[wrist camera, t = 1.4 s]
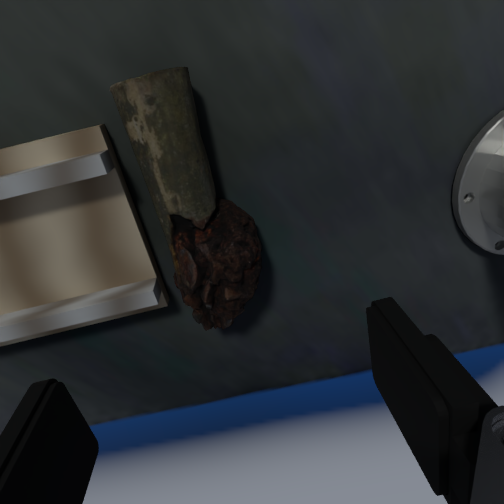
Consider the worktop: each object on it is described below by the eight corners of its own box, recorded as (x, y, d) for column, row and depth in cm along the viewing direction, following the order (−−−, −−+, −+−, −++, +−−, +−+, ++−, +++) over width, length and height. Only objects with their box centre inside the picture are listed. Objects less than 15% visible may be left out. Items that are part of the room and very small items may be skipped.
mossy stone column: (116, 85, 24) (91, 85, 19) (218, 61, 24) (220, 55, 19) (192, 309, 31) (188, 352, 26) (269, 290, 31) (281, 330, 26)
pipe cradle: (104, 123, 25) (89, 129, 22) (169, 298, 31) (164, 320, 28) (-145, 184, 25) (-192, 197, 22) (-31, 346, 31) (-57, 374, 28)
